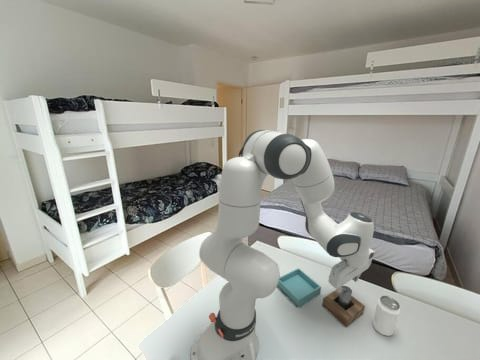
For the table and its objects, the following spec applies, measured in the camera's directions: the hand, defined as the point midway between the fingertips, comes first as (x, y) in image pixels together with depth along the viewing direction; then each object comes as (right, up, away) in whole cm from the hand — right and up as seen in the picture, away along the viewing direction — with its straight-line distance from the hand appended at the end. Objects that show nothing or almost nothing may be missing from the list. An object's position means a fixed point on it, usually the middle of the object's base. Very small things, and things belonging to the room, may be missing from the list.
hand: (347, 285), depth 81 cm
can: (+11, -14, -3) cm, 18 cm away
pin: (0, -11, +3) cm, 12 cm away
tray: (-15, -8, +13) cm, 22 cm away
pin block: (0, -11, +3) cm, 12 cm away
